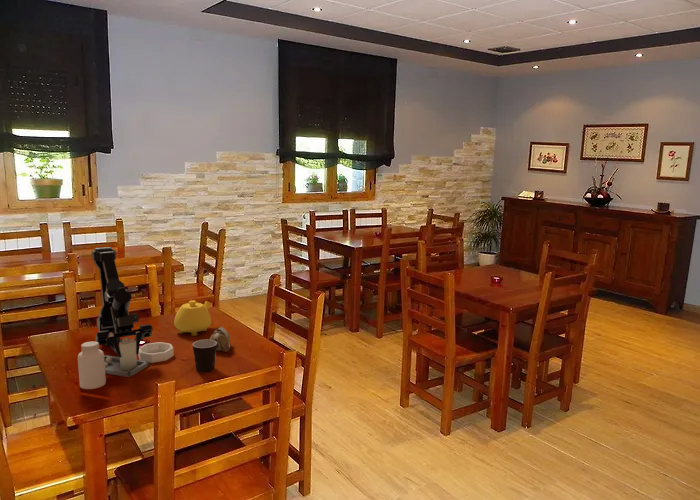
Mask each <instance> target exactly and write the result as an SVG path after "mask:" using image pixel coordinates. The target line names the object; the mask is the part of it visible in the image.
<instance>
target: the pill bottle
mask: <svg viewBox="0 0 700 500" xmlns="http://www.w3.org/2000/svg"><path fill="white" fill-rule="evenodd" d="M80 347H81V348H80V349H81V352H79V353H78V355H77V366H78V367H77V368H78V369H77V370H78V379H79V380H78V381H79V387H80V388H81V389H83V390H93V389H98V388H101V387H103V386H104V385H106V382H107V377H106V373H105V363H104V355H105V354H104V351H103V350H101V349H100V345H99V343H98V342H96V340H95V341H94V340H93V341H86V342H83V343H82V344H80Z"/></svg>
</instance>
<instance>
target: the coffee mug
mask: <svg viewBox="0 0 700 500" xmlns="http://www.w3.org/2000/svg"><path fill="white" fill-rule="evenodd" d="M191 345H192V350H193V351H192V352H193V357H194V363H195V370H196V372H197V373H200V374H208V373H211V372H213V371H214V370H215V364H216V355H217V351H216V348H217V342H216V341H214V340H210V339H208V338H207V339H199V340H196V341H194V342H192V344H191Z"/></svg>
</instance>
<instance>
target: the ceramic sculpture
mask: <svg viewBox="0 0 700 500" xmlns="http://www.w3.org/2000/svg"><path fill="white" fill-rule="evenodd" d="M209 340H214V341H216V342H217V348H216V352H217V351H219V352H220V351H222V352H226V353H227V352H230V350H231V348H232V345H231V342H230V340H231V336H230V333H229V332H228V331H227V330H226V329H225V328H224V327H223V325H222V326H220V327H218V329H216V330H214V332H213V333H212V334H211V336H210V338H209Z"/></svg>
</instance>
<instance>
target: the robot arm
mask: <svg viewBox="0 0 700 500" xmlns="http://www.w3.org/2000/svg"><path fill="white" fill-rule="evenodd" d="M90 256H91V259H92V261H93V263H94V265H95V267H96V268H97V269H98V271H99V273H98V274H99V281H100V291H101V300H102V306H101V308H100V310H99V314H98V315H99V316H98V318H97V321H96V324H97V329H98V331H97V332H96V334H95V341H96V342H98V343H99V346H102V345H105V346H107V347H108V346H109V347H110V348H111V350H113V351H114V352H115V354H116V356H117V357H119V358H120V357H121V354H120V350H119V342H120V341H122V340H123V339H122V338H127V337H130V336H131V337H132V336H135V337H134V340H136V352H137V355H138V353H139V348H140V347H141V346H140V345H141V341H143V340H144V338H145V339H146V338H150V337H151V336H152V333H153V331H154V328H153V325H152V324H151V323H148V324H141V325H139V328H137V329H134V325H135V323H139V321H140V319H139V314H138V312H135V313H132V314H131V315H130V314H129V308H130V304H131V301H132V294H131V293H130V292H129V290H128V289H126V286H125V283H123V281H121V280H120V278H119V273H118V269H117V266H116V262H115V261H116V260H117V251H116V249H112V247H111V246H107V247H105V246H103V247H94V249H93V250H91V255H90Z"/></svg>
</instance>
